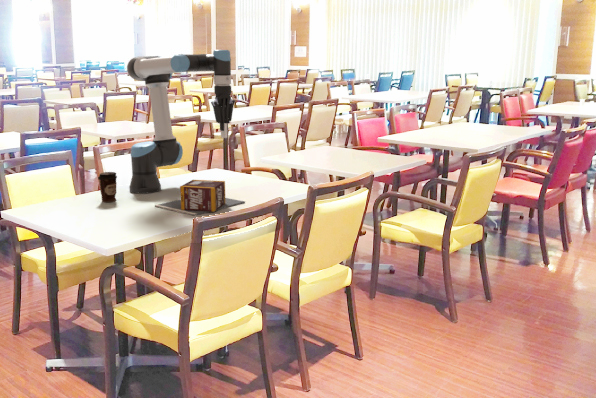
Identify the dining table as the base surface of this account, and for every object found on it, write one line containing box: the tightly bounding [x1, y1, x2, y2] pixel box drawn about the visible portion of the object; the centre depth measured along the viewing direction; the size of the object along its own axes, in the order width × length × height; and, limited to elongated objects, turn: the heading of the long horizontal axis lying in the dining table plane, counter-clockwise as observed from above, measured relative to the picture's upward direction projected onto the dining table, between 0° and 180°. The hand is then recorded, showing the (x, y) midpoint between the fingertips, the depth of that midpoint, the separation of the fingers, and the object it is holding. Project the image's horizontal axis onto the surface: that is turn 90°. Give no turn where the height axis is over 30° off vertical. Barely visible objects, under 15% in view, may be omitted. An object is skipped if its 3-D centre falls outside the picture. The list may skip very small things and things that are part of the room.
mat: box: [154, 197, 246, 217], centre depth 288 cm, size 26×30×1 cm
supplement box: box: [179, 179, 226, 212], centre depth 280 cm, size 10×15×16 cm
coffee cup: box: [97, 171, 118, 203], centre depth 294 cm, size 9×8×13 cm
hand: (224, 137), depth 293 cm, fingers closed
